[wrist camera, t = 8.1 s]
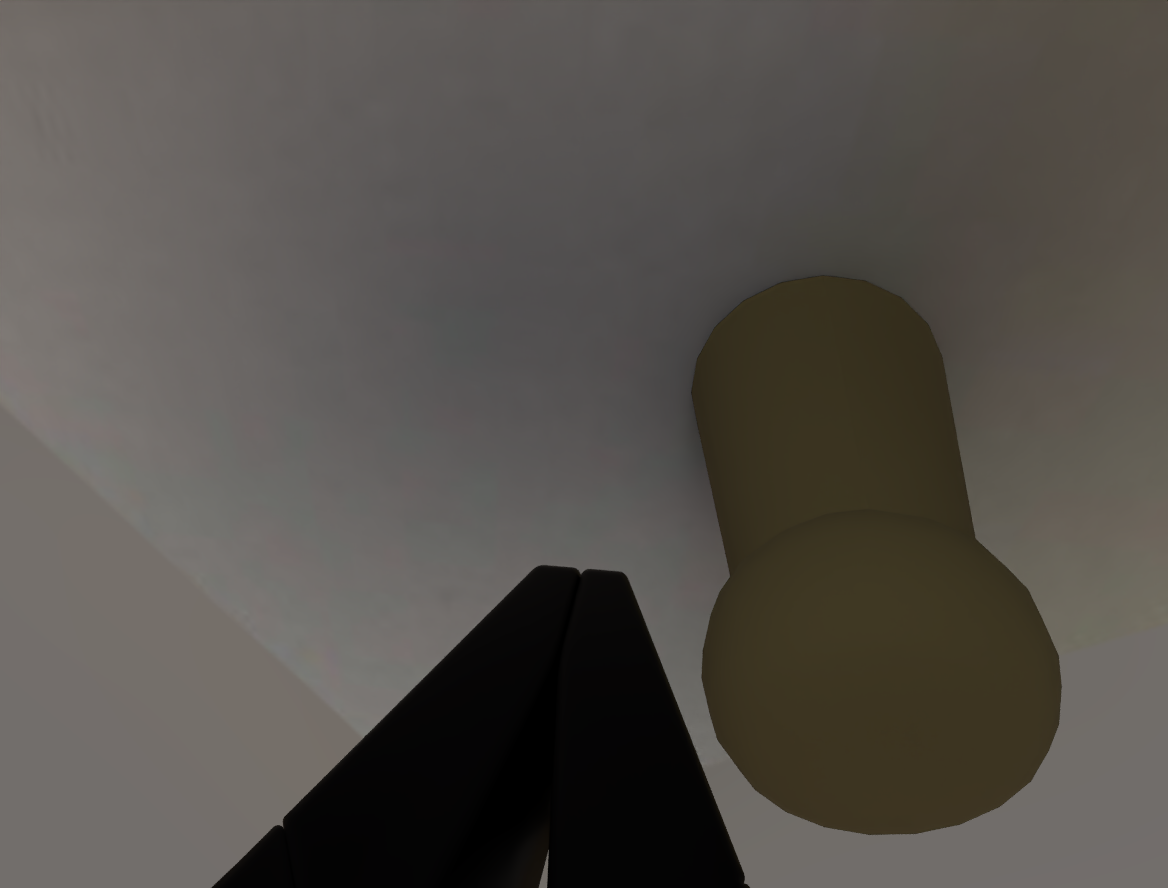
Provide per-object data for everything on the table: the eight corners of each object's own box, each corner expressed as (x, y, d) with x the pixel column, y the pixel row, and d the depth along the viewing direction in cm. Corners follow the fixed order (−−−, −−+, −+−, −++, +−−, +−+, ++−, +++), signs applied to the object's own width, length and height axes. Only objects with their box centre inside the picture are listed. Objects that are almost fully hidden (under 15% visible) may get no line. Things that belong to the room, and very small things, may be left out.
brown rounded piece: (879, 518, 23) (990, 934, 13) (662, 457, 23) (622, 833, 13) (991, 316, 19) (1241, 683, 10) (737, 244, 19) (755, 547, 10)
